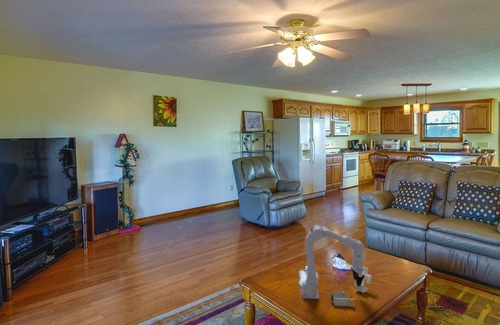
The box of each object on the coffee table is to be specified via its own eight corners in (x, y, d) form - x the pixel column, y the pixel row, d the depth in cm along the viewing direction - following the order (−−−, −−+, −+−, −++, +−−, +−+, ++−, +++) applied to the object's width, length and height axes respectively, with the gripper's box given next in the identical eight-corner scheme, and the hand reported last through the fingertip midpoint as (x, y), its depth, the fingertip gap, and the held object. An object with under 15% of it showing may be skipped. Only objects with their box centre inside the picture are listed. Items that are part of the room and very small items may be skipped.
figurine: (363, 293, 183) (371, 269, 187) (350, 286, 191) (357, 263, 194) (368, 294, 188) (375, 271, 191) (355, 288, 195) (362, 266, 198)
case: (331, 304, 177) (331, 295, 176) (330, 299, 183) (330, 290, 182) (347, 305, 176) (347, 296, 175) (345, 299, 182) (345, 291, 181)
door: (333, 306, 175) (333, 298, 174) (333, 304, 176) (333, 297, 176) (354, 307, 174) (354, 299, 173) (353, 305, 175) (353, 298, 174)
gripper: (368, 266, 173) (367, 288, 175) (361, 256, 188) (361, 277, 189) (355, 266, 174) (354, 288, 175) (349, 255, 188) (349, 276, 190)
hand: (357, 282), depth 182 cm, fingers open, 7 cm apart
